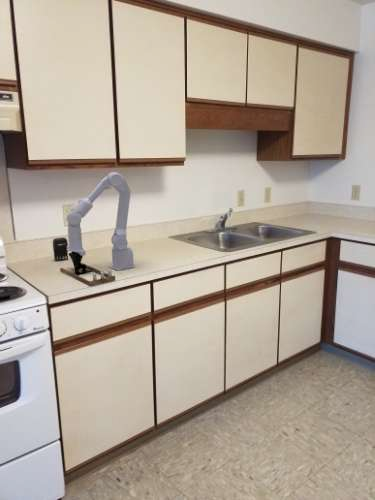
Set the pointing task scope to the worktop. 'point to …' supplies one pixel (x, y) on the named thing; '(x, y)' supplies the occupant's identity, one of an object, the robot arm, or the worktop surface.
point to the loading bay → (95, 280)
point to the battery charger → (60, 249)
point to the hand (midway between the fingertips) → (77, 267)
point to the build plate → (80, 266)
